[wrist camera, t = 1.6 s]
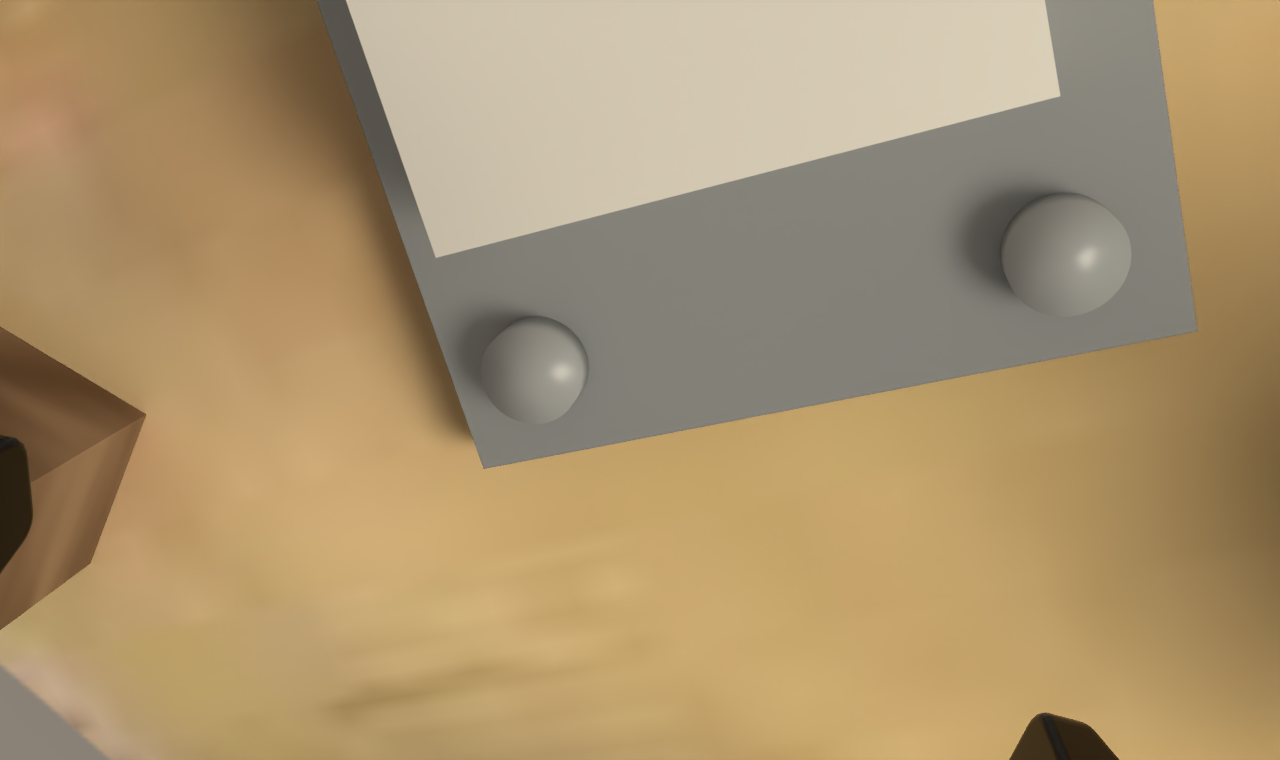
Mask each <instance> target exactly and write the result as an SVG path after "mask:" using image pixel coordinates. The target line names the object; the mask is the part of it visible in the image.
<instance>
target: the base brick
mask: <svg viewBox="0 0 1280 760" xmlns="http://www.w3.org/2000/svg"><path fill="white" fill-rule="evenodd" d="M317 3H318V6H319V8H320V11H321V14H322V17H323V20H324V22H325V25H326V28H327V31H328V34H329V36H330V39H331V42H332V45H333V48H334V50H335V53H336V56H337V59H338V62H339V64H340V67H341V70H342V73H343V76H344V78H345V81H346V84H347V87H348V90H349V92H350V95H351V98H352V101H353V104H354V106H355V109H356V112H357V115H358V118H359V121H360V123H361V126H362V129H363V132H364V135H365V137H366V140H367V143H368V146H369V149H370V151H371V154H372V157H373V160H374V163H375V165H376V168H377V171H378V174H379V177H380V179H381V182H382V185H383V188H384V191H385V193H386V196H387V199H388V202H389V205H390V207H391V210H392V213H393V216H394V219H395V221H396V224H397V227H398V230H399V233H400V235H401V238H402V241H403V244H404V247H405V249H406V252H407V255H408V258H409V261H410V263H411V266H412V269H413V272H414V275H415V277H416V280H417V283H418V286H419V289H420V292H421V294H422V297H423V300H424V303H425V306H426V308H427V311H428V314H429V317H430V320H431V322H432V325H433V328H434V331H435V334H436V336H437V339H438V342H439V345H440V348H441V350H442V353H443V356H444V359H445V362H446V364H447V367H448V370H449V373H450V376H451V378H452V381H453V384H454V387H455V390H456V392H457V395H458V398H459V401H460V404H461V406H462V409H463V412H464V415H465V418H466V420H467V423H468V426H469V429H470V432H471V434H472V437H473V440H474V443H475V446H476V449H477V451H478V454H479V457H480V460H481V463H482V465H483V468H484V469H486V468H491V467H496V466H501V465H507V464H512V463H517V462H522V461H527V460H533V459H538V458H543V457H548V456H553V455H559V454H564V453H569V452H574V451H579V450H584V449H590V448H595V447H600V446H605V445H610V444H616V443H621V442H626V441H631V440H636V439H641V438H647V437H652V436H657V435H662V434H667V433H673V432H678V431H683V430H688V429H693V428H698V427H704V426H709V425H714V424H719V423H724V422H730V421H735V420H740V419H745V418H750V417H756V416H761V415H766V414H771V413H776V412H781V411H787V410H792V409H797V408H802V407H807V406H813V405H818V404H823V403H828V402H833V401H838V400H844V399H849V398H854V397H859V396H864V395H870V394H875V393H880V392H885V391H890V390H896V389H901V388H906V387H911V386H916V385H921V384H927V383H932V382H937V381H942V380H947V379H953V378H958V377H963V376H968V375H973V374H978V373H984V372H989V371H994V370H999V369H1004V368H1010V367H1015V366H1020V365H1025V364H1030V363H1035V362H1041V361H1046V360H1051V359H1056V358H1061V357H1067V356H1072V355H1077V354H1082V353H1087V352H1093V351H1098V350H1103V349H1108V348H1113V347H1118V346H1124V345H1129V344H1134V343H1139V342H1144V341H1150V340H1155V339H1160V338H1165V337H1170V336H1175V335H1181V334H1186V333H1191V332H1196V331H1198V330H1197V323H1196V316H1195V308H1194V301H1193V293H1192V286H1191V279H1190V271H1189V264H1188V256H1187V249H1186V242H1185V234H1184V227H1183V219H1182V212H1181V205H1180V197H1179V190H1178V182H1177V175H1176V167H1175V160H1174V153H1173V145H1172V138H1171V130H1170V123H1169V116H1168V108H1167V101H1166V93H1165V86H1164V79H1163V71H1162V64H1161V56H1160V49H1159V42H1158V34H1157V27H1156V19H1155V12H1154V5H1153V0H317Z"/></svg>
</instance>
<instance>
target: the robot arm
mask: <svg viewBox="0 0 1280 760" xmlns="http://www.w3.org/2000/svg"><path fill="white" fill-rule="evenodd" d="M32 520H33V501H32V491H31V481H30V471H29V461H28V453H27V449H26V447H25V446H24V444H23V443H22V441H20V440H18V439H17V438H15V437H12V436H8V435H5V434H1V433H0V574H1V573H2V571H3V570H4V568H5V567H6V566H7V564H8V563H9V562H10V560H11V559H12V557H13V556H14V555H15V553H16V552H17V551H18V549H19V548H20V547H21V545H22V544H23V542H24V541H25V539H26V537H27V535H28V533H29V531H30V528H31V525H32ZM1009 760H1119V759H1118V758H1117V757H1116V755H1115V754H1114V753H1113V752H1112V751H1111V749H1110V748H1109V747H1108V746H1107V745H1106V744H1105V742H1104V741H1103V740H1102V739H1101V738H1100V736H1099V735H1098V734H1097V733H1096V732H1095V731H1094V730H1093V729H1092V728H1091V727H1090V726H1089V725H1087V724H1085V723H1083V722H1080V721H1076V720H1073V719H1069V718H1065V717H1061V716H1058V715H1054V714H1050V713H1040V714H1038V715H1036V716H1035V717H1034V718H1033V719H1032V720H1031V721H1030V723H1029V724H1028V726H1027V728H1026V730H1025V732H1024V734H1023V735H1022V737H1021V739H1020V741H1019V743H1018V745H1017V747H1016V748H1015V750H1014V752H1013V754H1012V756H1011V758H1010V759H1009Z"/></svg>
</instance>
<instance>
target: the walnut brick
mask: <svg viewBox="0 0 1280 760" xmlns="http://www.w3.org/2000/svg"><path fill="white" fill-rule="evenodd" d="M145 416H146V414H144V413H142V412H141V411H139V410H137V409H136V408H134V407H132V406H131V405H129V404H127V403H126V402H124V401H122V400H121V399H119V398H117V397H116V396H114V395H112V394H111V393H109V392H107V391H106V390H104V389H102V388H101V387H99V386H97V385H96V384H94V383H92V382H91V381H89V380H87V379H86V378H84V377H82V376H81V375H79V374H77V373H76V372H74V371H73V370H71V369H69V368H68V367H66V366H64V365H63V364H61V363H59V362H58V361H56V360H54V359H53V358H51V357H49V356H48V355H46V354H44V353H43V352H41V351H39V350H38V349H36V348H34V347H33V346H31V345H29V344H28V343H26V342H24V341H23V340H21V339H19V338H18V337H16V336H14V335H13V334H11V333H9V332H8V331H6V330H4V329H3V328H1V327H0V433H1V434H5V435H8V436H12V437H15V438H17V439H18V440H20V441H22V443H23V444H24V446H25V447H26V449H27V453H28V461H29V471H30V481H31V491H32V501H33V520H32V525H31V528H30V531H29V533H28V535H27V537H26V539H25V541H24V542H23V544H22V545H21V547H20V548H19V549H18V551H17V552H16V553H15V555H14V556H13V557H12V559H11V560H10V562H9V563H8V564H7V566H6V567H5V568H4V570H3V571H2V573H1V574H0V630H1V629H2V628H4V627H5V626H6V625H8V624H9V623H10V622H12V621H13V620H14V619H16V618H17V617H18V616H20V615H21V614H23V613H24V612H25V611H27V610H28V609H29V608H31V607H32V606H33V605H35V604H36V603H37V602H39V601H40V600H41V599H43V598H44V597H45V596H47V595H48V594H50V593H51V592H52V591H54V590H55V589H56V588H58V587H59V586H60V585H62V584H63V583H64V582H66V581H67V580H68V579H70V578H71V577H72V576H74V575H75V574H76V573H78V572H79V571H81V570H82V569H83V568H85V567H86V566H87V565H89V564H90V562H91V560H92V557H93V554H94V552H95V549H96V546H97V544H98V541H99V538H100V536H101V533H102V530H103V528H104V525H105V522H106V520H107V517H108V514H109V512H110V509H111V506H112V504H113V501H114V498H115V496H116V493H117V490H118V488H119V485H120V483H121V480H122V477H123V475H124V472H125V469H126V467H127V464H128V461H129V459H130V456H131V453H132V451H133V448H134V445H135V443H136V440H137V437H138V435H139V432H140V429H141V427H142V424H143V421H144V419H145Z"/></svg>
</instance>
